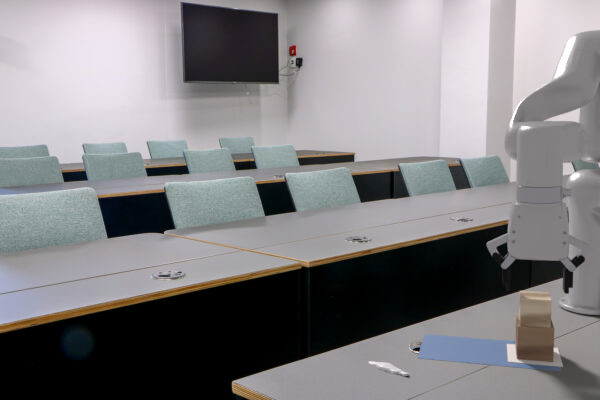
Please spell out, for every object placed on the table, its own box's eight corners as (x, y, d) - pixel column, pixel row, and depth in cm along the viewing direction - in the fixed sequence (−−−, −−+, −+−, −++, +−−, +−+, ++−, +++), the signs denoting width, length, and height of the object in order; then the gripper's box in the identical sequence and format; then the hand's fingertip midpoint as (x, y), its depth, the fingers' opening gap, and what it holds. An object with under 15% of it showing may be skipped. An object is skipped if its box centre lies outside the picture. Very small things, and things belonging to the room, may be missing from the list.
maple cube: (550, 328, 109) (551, 300, 108) (520, 325, 110) (521, 298, 110) (548, 319, 114) (549, 292, 113) (519, 317, 115) (519, 290, 114)
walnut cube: (553, 362, 109) (554, 329, 108) (516, 359, 111) (517, 326, 110) (549, 349, 115) (550, 318, 114) (515, 347, 117) (516, 315, 116)
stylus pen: (414, 380, 106) (413, 369, 105) (403, 384, 104) (403, 373, 104) (351, 359, 117) (350, 349, 117) (340, 363, 115) (340, 353, 115)
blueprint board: (556, 349, 118) (556, 344, 118) (564, 377, 106) (564, 371, 105) (424, 338, 125) (424, 333, 125) (417, 363, 113) (417, 357, 113)
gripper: (589, 192, 110) (586, 286, 113) (487, 192, 115) (486, 281, 118) (596, 199, 103) (592, 299, 106) (486, 198, 108) (485, 293, 111)
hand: (536, 290), depth 112 cm, fingers open, 9 cm apart
